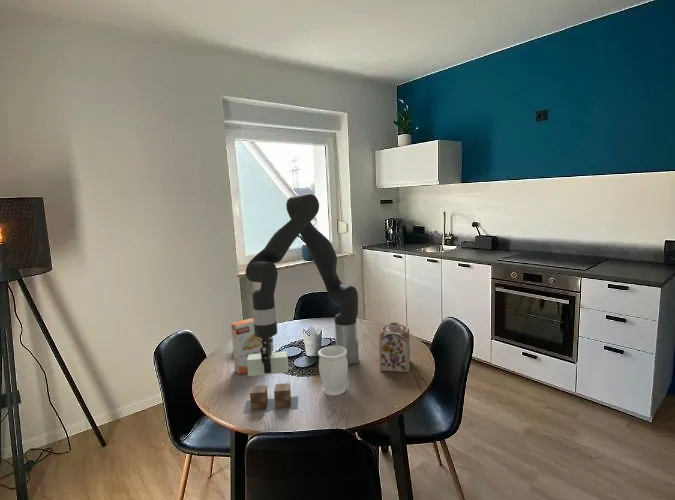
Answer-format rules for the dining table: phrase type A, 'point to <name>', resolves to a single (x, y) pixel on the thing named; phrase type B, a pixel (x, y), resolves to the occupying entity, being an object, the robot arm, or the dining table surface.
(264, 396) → the pillar
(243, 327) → the cracker box
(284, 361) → the plank
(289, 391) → the pillar
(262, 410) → the mat
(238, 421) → the dining table surface
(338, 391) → the jar
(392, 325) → the decorative jar
